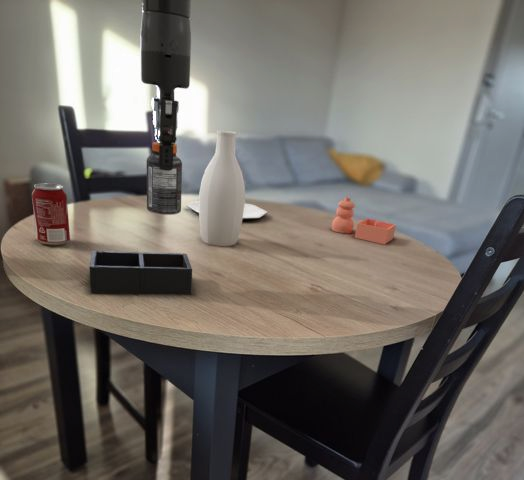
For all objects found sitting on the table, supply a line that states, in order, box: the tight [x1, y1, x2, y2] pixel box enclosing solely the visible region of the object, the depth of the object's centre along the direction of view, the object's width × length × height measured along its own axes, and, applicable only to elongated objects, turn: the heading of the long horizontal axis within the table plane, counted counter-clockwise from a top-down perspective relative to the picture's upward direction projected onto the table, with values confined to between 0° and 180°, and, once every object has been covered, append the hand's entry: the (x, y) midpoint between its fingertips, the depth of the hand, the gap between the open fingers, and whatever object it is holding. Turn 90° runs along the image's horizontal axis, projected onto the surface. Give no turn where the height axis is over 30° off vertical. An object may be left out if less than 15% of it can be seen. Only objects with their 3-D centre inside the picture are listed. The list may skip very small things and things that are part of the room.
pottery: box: [331, 196, 397, 245], centre depth 142 cm, size 18×10×10 cm, turn 62°
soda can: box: [31, 182, 71, 247], centre depth 103 cm, size 7×7×12 cm
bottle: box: [198, 129, 246, 247], centre depth 115 cm, size 11×11×25 cm
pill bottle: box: [146, 141, 183, 216], centre depth 83 cm, size 6×6×11 cm
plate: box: [186, 199, 268, 220], centre depth 150 cm, size 24×24×2 cm
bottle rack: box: [88, 250, 193, 295], centre depth 89 cm, size 17×9×5 cm, turn 104°
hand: (164, 166), depth 82 cm, fingers closed on pill bottle, 6 cm apart
